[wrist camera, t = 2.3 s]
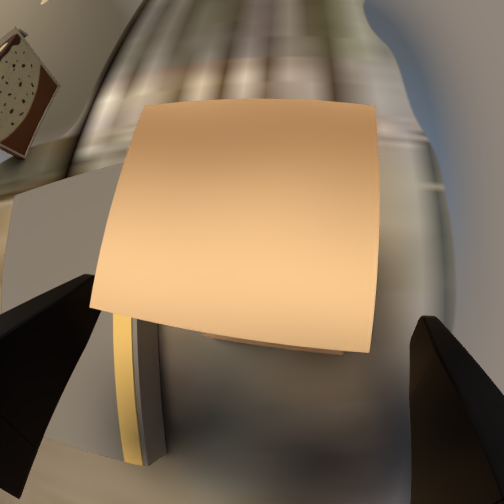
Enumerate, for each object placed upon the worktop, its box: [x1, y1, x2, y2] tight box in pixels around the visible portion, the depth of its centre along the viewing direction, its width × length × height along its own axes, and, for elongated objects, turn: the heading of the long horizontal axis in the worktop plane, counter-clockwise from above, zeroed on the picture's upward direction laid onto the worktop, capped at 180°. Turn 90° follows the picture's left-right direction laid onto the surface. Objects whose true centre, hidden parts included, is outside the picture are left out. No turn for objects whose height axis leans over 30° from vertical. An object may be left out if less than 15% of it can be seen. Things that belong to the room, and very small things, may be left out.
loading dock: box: [1, 163, 167, 466], centre depth 18 cm, size 18×13×3 cm
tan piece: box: [90, 99, 379, 355], centre depth 12 cm, size 6×7×12 cm
